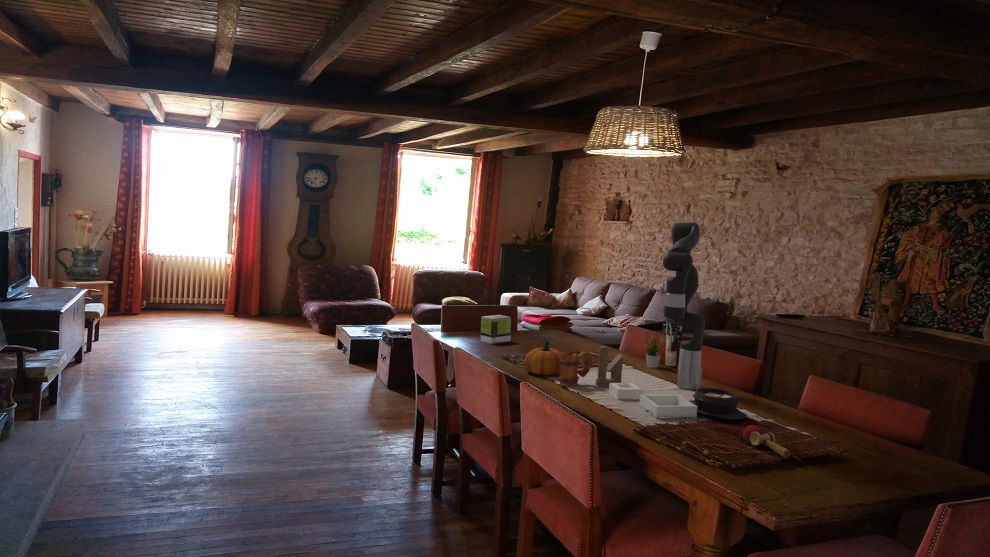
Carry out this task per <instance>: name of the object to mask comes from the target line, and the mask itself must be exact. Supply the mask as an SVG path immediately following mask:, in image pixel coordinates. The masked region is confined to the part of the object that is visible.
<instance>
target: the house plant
mask: <svg viewBox="0 0 990 557" xmlns="http://www.w3.org/2000/svg"><path fill="white" fill-rule="evenodd" d="M642 339H643V340H644V341H645V343H646V344H647V345H646V344H644V346H645V347H643V349H644V350H645V351H646V352H647V353H646V354H645V356H646V358H645V359H646V367H647V368H652V369H657V368H658V367H659V363H660V359H661V354H659V353H660V352H661V351H663V350H664V351H666V348H665V347H660V346H663V344H666V338H665V339H664V337H661V338H660V339H658V341H657V338H656V335H655V334H654V336H653V335H651V337H650V340H651V341H650V344H649V342H648V341H647V339H645V338H644V337H642Z"/></svg>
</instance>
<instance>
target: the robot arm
mask: <svg viewBox="0 0 990 557" xmlns="http://www.w3.org/2000/svg"><path fill="white" fill-rule="evenodd" d="M671 226H672V227H671V239H672V241H671V242H672V247H671V249H669V250H667V252H665V254H664V255H663V259H662V266H663V268H664V269H665V270H666V271H668V272H669V271H670V272H671V271H672V272H675V276H671V277H668V278H667V279H666V286H665V287H666V289H665V295H664V303H663V304H664V305H663V317H664V318H666V320H663V321H662V328H663V329H662V330H663V336H664V337H665V339H666V340H665V342H666V341H667V335H671V336H672V343H671V351H673V352H676V351H677V352H678V348H679V356H678V371H677V380H676V381H677V385H676V386H677V387H678V388H680V389H684V390H692V391H693V390H694V391H696V390H697V389H701V388H702V378H703V377H702V376H703V375H702V374H703V367H702V366H701V365H702V363H701V362H702V350H703V344H704V343H703V342H704V333H705V325H706V319H705V316H704V314H702V313H697V312H688V305H689V303H690V301H691V299H693V296H695V294H696V292H697V291H698V289H699V272H698V270H697V267H695V264H693V257H692V255H691V252H692V250H693V249H694V248H695V247H696V245H697V244H698V243H699V240H700V236H701V232H700V231H701V230H700V227H699V224H698V223H697V222H677V223H674V224H672V225H671ZM684 333H685V334H690V335H693V336H692V338H690V339H687V340H682V339H683V335H684ZM679 342H680V343H679Z"/></svg>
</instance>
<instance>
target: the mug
mask: <svg viewBox="0 0 990 557" xmlns="http://www.w3.org/2000/svg"><path fill="white" fill-rule="evenodd" d="M580 361H582V362H583V366H582V368H581V369H578V365H579V363H580ZM559 363H560V364H561V373H560V374H559V377H558V379H557V381H558V382H559V384H560V386H562V387H565V388H569V387H574V386H577V385H578V381H579V379H580V377H582V378H584V377H586V376H587V375H588V374H589V372H590V369H591V368H592V367H591V366H592V359H591V356H590V354H589V353H588V352H587V351H584V350H583V351H581V352H580V353H579V354H576V353H573V352H563V353H562V359H561V360H560V362H559ZM579 376H580V377H579Z"/></svg>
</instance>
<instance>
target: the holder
mask: <svg viewBox="0 0 990 557" xmlns="http://www.w3.org/2000/svg"><path fill="white" fill-rule="evenodd" d="M608 394H610V395H611V396H612V397H613V398H615V399H616V400H640V395H642V388H640V387H639V386H637V385H636V384H635V383H633V382H621V383H609V386H608Z"/></svg>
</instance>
